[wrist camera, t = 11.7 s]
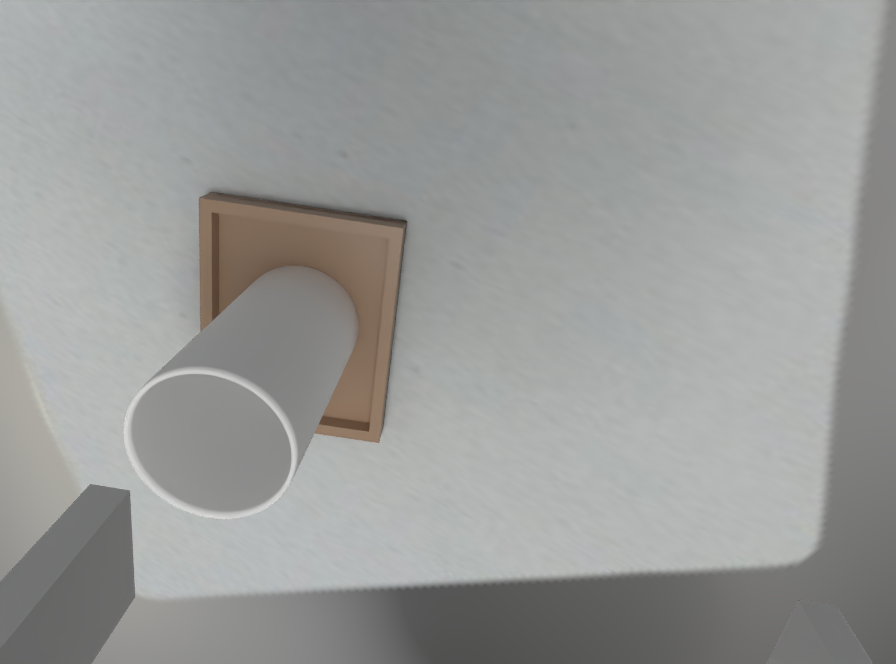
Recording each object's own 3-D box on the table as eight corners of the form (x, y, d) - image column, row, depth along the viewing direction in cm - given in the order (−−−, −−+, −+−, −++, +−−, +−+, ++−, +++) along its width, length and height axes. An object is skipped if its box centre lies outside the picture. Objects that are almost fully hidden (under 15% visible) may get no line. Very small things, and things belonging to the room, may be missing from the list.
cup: (220, 332, 46) (93, 460, 31) (279, 241, 43) (170, 334, 28) (319, 395, 47) (242, 547, 32) (381, 311, 44) (329, 435, 30)
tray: (211, 192, 43) (198, 197, 41) (406, 221, 43) (403, 228, 41) (212, 403, 49) (201, 416, 47) (382, 428, 49) (378, 442, 47)
